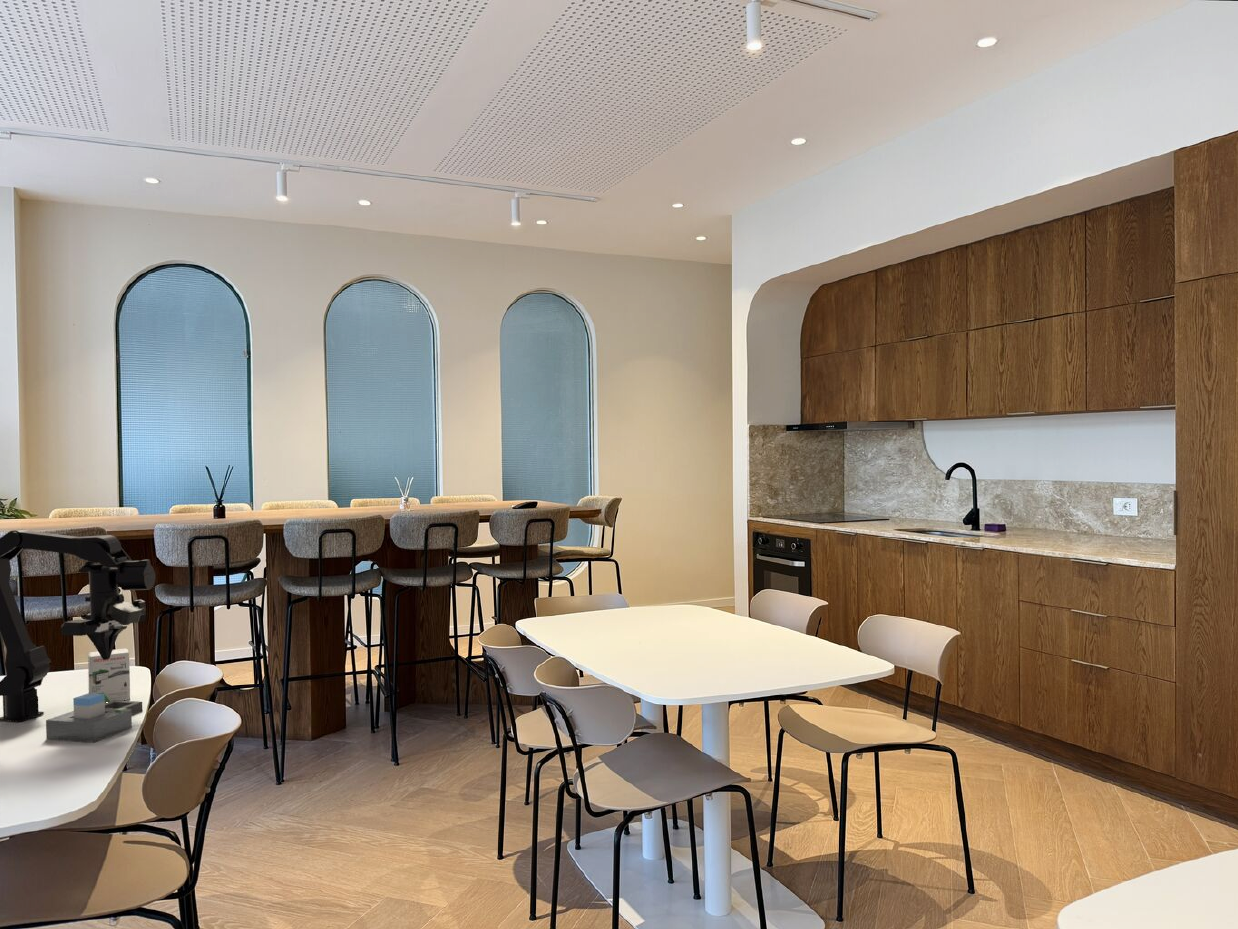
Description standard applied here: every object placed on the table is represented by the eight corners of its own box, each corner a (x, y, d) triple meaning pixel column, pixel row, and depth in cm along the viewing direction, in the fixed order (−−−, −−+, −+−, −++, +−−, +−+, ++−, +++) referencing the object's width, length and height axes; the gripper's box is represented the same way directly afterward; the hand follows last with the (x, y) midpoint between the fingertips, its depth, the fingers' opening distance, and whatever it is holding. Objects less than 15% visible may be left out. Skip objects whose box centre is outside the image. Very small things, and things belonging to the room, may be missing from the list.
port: (46, 739, 185) (45, 718, 185) (86, 725, 195) (85, 705, 195) (94, 742, 182) (93, 721, 182) (131, 727, 192) (131, 707, 192)
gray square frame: (86, 718, 200) (86, 709, 200) (114, 708, 208) (114, 700, 208) (115, 720, 198) (115, 711, 198) (142, 710, 206) (142, 701, 206)
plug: (74, 736, 187) (73, 698, 187) (90, 730, 191) (89, 693, 191) (90, 737, 186) (88, 699, 186) (105, 731, 190) (104, 694, 190)
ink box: (89, 706, 211) (88, 656, 211) (88, 701, 215) (87, 652, 215) (131, 699, 215) (129, 651, 215) (129, 695, 220) (127, 647, 220)
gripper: (100, 598, 192) (102, 670, 192) (164, 585, 210) (166, 651, 210) (58, 597, 195) (60, 668, 195) (124, 584, 213) (126, 650, 213)
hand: (106, 659), depth 203 cm, fingers closed
